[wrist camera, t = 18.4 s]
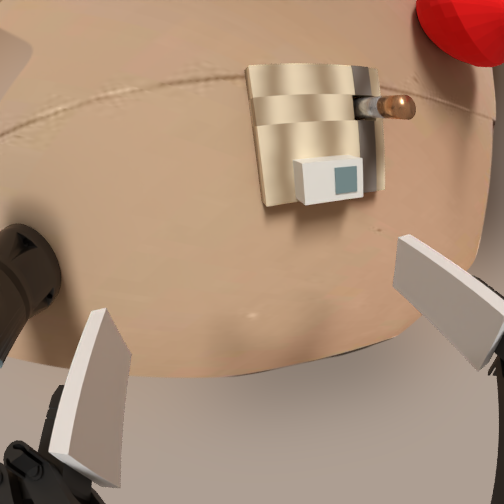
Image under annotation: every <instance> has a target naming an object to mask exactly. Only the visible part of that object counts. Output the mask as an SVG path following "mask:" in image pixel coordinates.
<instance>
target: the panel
mask: <svg viewBox="0 0 504 504" xmlns="http://www.w3.org/2000/svg"><path fill="white" fill-rule="evenodd" d="M245 77H246V84H247V91H248V98H249V106H250V113H251V120H252V128H253V135H254V143H255V151H256V158H257V166H258V174H259V182H260V190H261V198H262V202H263V203H264V204H265V205H266V206H267V207H268V206H274V205H280V204H286V203H293V202H299V200H298V199H296V194H295V182H294V171H293V160H296V159H305V158H315V157H326V156H339V155H352V156H356V157H360V158H362V159H363V193H366V192H374V191H379V190H385V148H384V128H383V118H365V120H355V119H354V108H353V99H352V96H353V97H363V98H367V97H379V96H381V94H380V85H379V77H378V70H377V69H376V68H368V67H362V66H348V65H335V64H310V63H287V64H262V65H248V67H247V68H246V69H245Z"/></svg>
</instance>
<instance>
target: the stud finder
mask: <svg viewBox="0 0 504 504" xmlns="http://www.w3.org/2000/svg"><path fill="white" fill-rule="evenodd" d="M293 171H294V182H295V194H296V199H298V200H299V201H300V202H302V203H303V204H304V205H311V204H318V203H324V202H331V201H338V200H345V199H352V198H360V197H363V159H362V158H360V157H356V156H352V155H339V156H326V157H315V158H305V159H296V160H293Z"/></svg>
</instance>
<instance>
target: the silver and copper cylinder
mask: <svg viewBox="0 0 504 504" xmlns="http://www.w3.org/2000/svg"><path fill="white" fill-rule="evenodd" d="M353 108H354V117H360V118H391V119H407V120H409V119H412V118H413V117H414V115H415V112H416V107H415V103H414V101H413V100H412V98H411V97H409V96H407V95H394V96H379V97H367V98H357V99H353Z"/></svg>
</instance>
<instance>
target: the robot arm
mask: <svg viewBox="0 0 504 504" xmlns="http://www.w3.org/2000/svg"><path fill="white" fill-rule="evenodd" d="M60 284H61V274H60V268H59V264H58V261H57V259H56V256H55V254H54V252H53V250H52V248H51V247H50V245H49V244H48V243H47V241H46V240H45V239H44V238H43V237H42V236H41V235H40V234H39V233H38V232H37V231H35V230H34V229H32V228H30V227H28V226H26V225H22V224H13V225H10V226H8V227H6V228H5V229H3V230H2V231H0V368H1V367H2V365H3V363H4V361H5V359H6V357H7V355H8V353H9V351H10V350H11V348H12V346H13V344H14V342H15V341H16V339H17V337H18V335H19V334H20V332H21V330H22V329H23V327H24V325H25V324H26V322H27V321H28V319H30V318H31V317H33V316H34V315H36V314H38V313H39V312H41V311H43V310H44V309H46V308H47V307H48V306H49V305H50V304H51V303H52V302H53V300H54V299H55V297H56V296H57V294H58V292H59V289H60ZM393 287H394V288H395V289H396V290H397V291H398V292H399V293H400V294H401V295H403V296H404V297H405V298H406V299H407V300H408V301H409V302H410V303H411V304H412V305H413V306H414V307H415V308H416V309H417V310H418V311H419V312H420V313H421V314H423V315H424V316H425V317H426V318H427V319H428V320H429V321H430V322H431V323H432V324H433V325H434V326H435V327H436V328H437V329H438V330H439V331H440V332H441V333H442V334H443V335H444V336H445V337H446V338H447V339H448V340H449V341H450V342H451V344H452V345H453V346H454V347H455V348H456V349H457V350H458V351H459V352H460V353H461V354H462V355H463V356H464V357H465V358H466V359H467V360H468V361H469V363H470V364H471V365H472V366H473V367H474V368H475V369H476V370H477V371H479V370H480V369H482V368H483V367H484V366H485V365H486V364H487V363H488V362H489V361H490V359H491V357H492V355H493V353H494V352H495V353H496V354H497V357H496V359H495V361H494V362H493V364H492V366H491V367H490V369H489V371H488V375H490V374H491V373H492V371H493V369H494V368H495V367H496V369H495V371H494V373H493V375H494V376H497V385H498V401H499V444H498V458H497V469H496V477H495V483H494V489H493V495H492V500H491V504H504V297H503V296H502V295H501V294H499V293H498V292H497V291H494V289H493V288H492V287H490V286H488V285H487V284H486V283H485V282H484V281H482V280H481V279H480V278H477V277H475V276H473V275H470V274H469V273H467V272H466V271H465V270H463V269H462V268H460V267H459V266H458V265H456V264H455V263H453V262H452V261H450V260H449V259H447V258H446V257H444V256H443V255H441V254H440V253H438V252H437V251H435V250H434V249H432V248H431V247H429V246H428V245H426V244H425V243H423V242H421V241H420V240H418V239H417V238H415V237H413V236H412V235H410V234H408V235H405V236H401V237H398V243H397V254H396V263H395V272H394V279H393ZM131 356H132V354H131V352H130V351H129V349H128V347H127V345H126V344H125V342H124V340H123V338H122V337H121V335H120V333H119V331H118V329H117V327H116V326H115V324H114V322H113V320H112V318H111V316H110V314H109V312H108V310H107V308H103V309H99V310H94V311H91V313H90V316H89V318H88V320H87V323H86V325H85V328H84V331H83V333H82V336H81V338H80V341H79V344H78V347H77V349H76V352H75V355H74V358H73V361H72V364H71V367H70V370H69V373H68V376H67V379H66V382H65V385H59V387H58V388H57V390H56V391H55V392H54V394H53V395H52V398H51V402H50V405H49V410H48V412H47V416H46V417H47V419H45V423H44V427H43V432H42V436H41V440H40V445H39V449H38V452H36V451H35V450H33V448H31V447H30V446H29V445H27V444H26V443H24V442H23V441H14V442H12V443H11V444H10V445H9V446H8V447H7V449H6V451H5V453H4V464H2V463H0V504H105V503H104V502H103V500H102V499H101V497H100V496H99V495H98V493H97V492H96V491H95V490H94V489H93V488H92V487H91V485H92V484H91V483H92V481H93V482H94V483H96V484H98V485H100V486H102V487H112V488H120V477H121V475H120V474H121V448H122V432H123V420H124V409H125V400H126V391H127V383H128V376H129V369H130V362H131Z"/></svg>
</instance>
